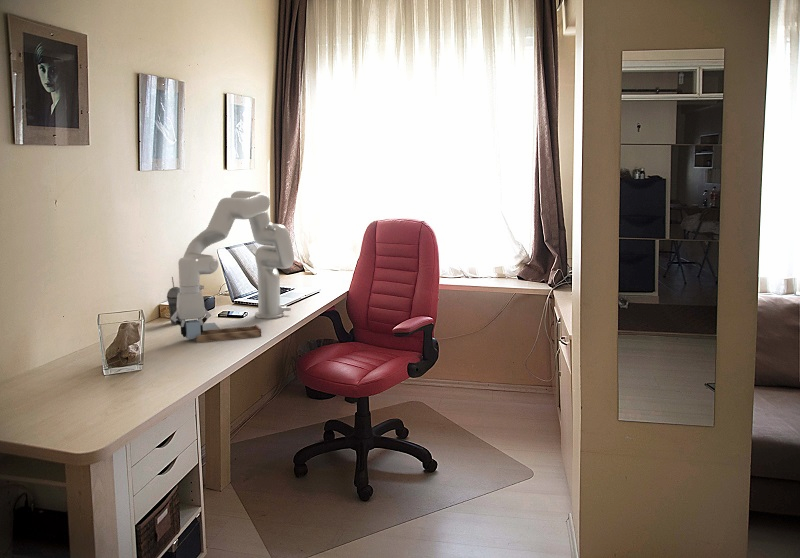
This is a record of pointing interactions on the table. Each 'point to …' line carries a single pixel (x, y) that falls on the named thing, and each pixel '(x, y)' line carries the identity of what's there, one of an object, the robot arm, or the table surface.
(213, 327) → the pad
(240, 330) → the channel
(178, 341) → the table surface
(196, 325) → the block
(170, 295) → the beverage cup
